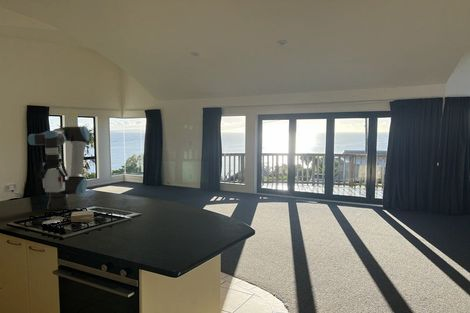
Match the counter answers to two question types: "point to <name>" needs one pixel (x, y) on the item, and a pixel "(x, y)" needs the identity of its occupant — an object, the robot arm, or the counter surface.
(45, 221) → the cream smooth round part
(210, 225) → the counter surface
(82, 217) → the maple block
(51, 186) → the supplement box
